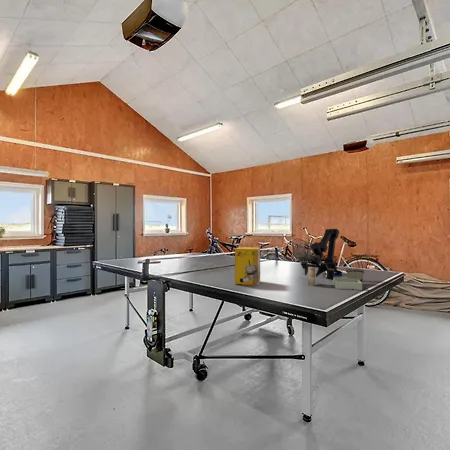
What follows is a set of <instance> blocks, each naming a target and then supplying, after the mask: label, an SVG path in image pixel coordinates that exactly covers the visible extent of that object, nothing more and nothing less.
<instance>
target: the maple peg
mask: <svg viewBox="0 0 450 450" xmlns="http://www.w3.org/2000/svg"><path fill="white" fill-rule="evenodd" d="M307 278H308V279H307V285H308V286H312V287H313V286H315V284H316V268H313V267H308V273H307Z"/></svg>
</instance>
